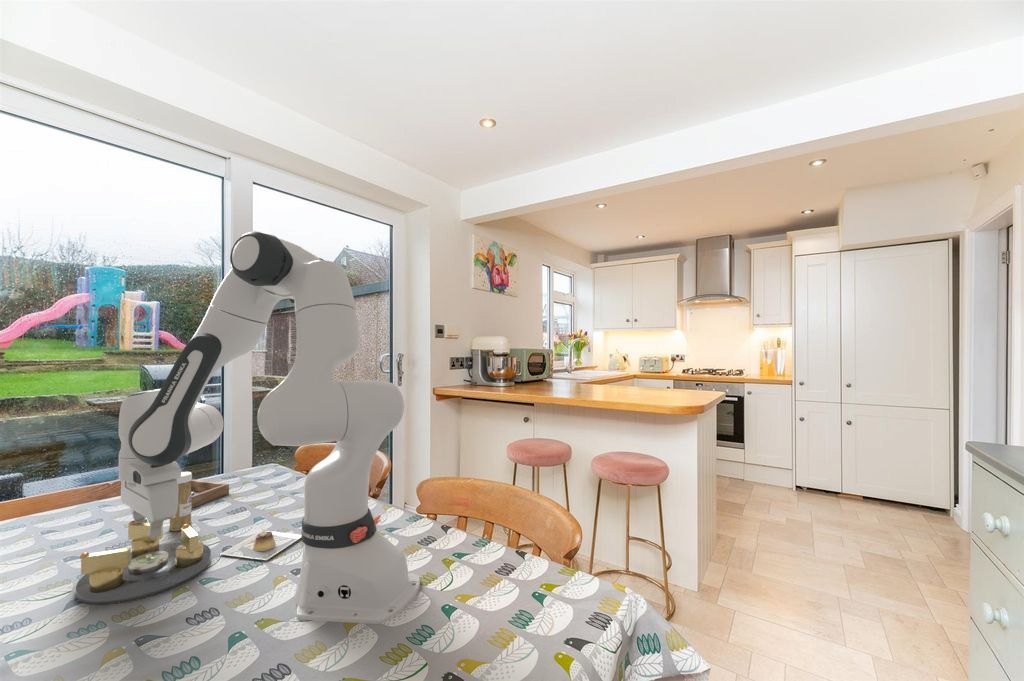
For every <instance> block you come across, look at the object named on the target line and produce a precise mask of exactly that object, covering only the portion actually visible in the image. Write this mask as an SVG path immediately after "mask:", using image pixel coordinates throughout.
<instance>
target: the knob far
mask: <svg viewBox="0 0 1024 681" xmlns="http://www.w3.org/2000/svg"><path fill="white" fill-rule="evenodd" d="M163 524H164V523H163ZM163 524H162V527H161V535H160V536H159V537H157V538H153V539H151V538H149V537H148V529H149V525H150V523H149V522H147V523H138V522H136V521H134V520H131V521H130V522H129V523H128V527H127V530H128V531H127V534H128V535H127V536H128V537H127V538H128V539H127V540H129V541H130V540H131V552H132V558H136V557H138V556H140V555H143V554H146V553H150V552H155V551H159V545H160V540H162V539H163V538H164V535H163V534H164V531H163V530H164V526H163Z"/></svg>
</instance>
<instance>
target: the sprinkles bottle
mask: <svg viewBox="0 0 1024 681" xmlns="http://www.w3.org/2000/svg"><path fill="white" fill-rule="evenodd" d="M191 480H193V474H192V472H191V471H181V477H180V478H177V481H178V504H177V511H176V514H175V516H174V517H173V518H171V519H169V528H168V531H171V532H179V531H180V532H181V528H182V526H183V525H185V524H188V525H189V526H190V527H191V526H192V525H193V523H192V508H191V492H192V491H191Z"/></svg>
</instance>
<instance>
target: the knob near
mask: <svg viewBox="0 0 1024 681" xmlns="http://www.w3.org/2000/svg"><path fill="white" fill-rule="evenodd" d="M180 532H181V534H180V535H181V536H180V538H181V539H180V542H181V543H182V545H180V546H178V547H177V548H176V566H178V567H186V566H190V565H193V564H196V563H198V562H200V561H201V560H202V559H203V544H204V542H203V541H200V540H199V534H198V533H197V532H196V531H195V530H194V529H193V528H192V527H191V526H189V525H188V524H185V525H183V526H182V528H181V530H180Z"/></svg>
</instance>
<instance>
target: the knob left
mask: <svg viewBox="0 0 1024 681" xmlns="http://www.w3.org/2000/svg"><path fill="white" fill-rule="evenodd" d="M131 552H132V546H131V547H124V548H118V549H117V548H116V549H110V550H106V551H104V550H103V551H99V552H91V553H89V552H83V553H81V554H80V556H79V559H80V575H81V576H84V575H85V574H89V591H90V592H92V593H98V592H104V591H107V590H110V589H113V588H115V587H117V586H119V585H120V584H121V583H122V582H123V568H125V567H128V566H129V565H130V564H131Z"/></svg>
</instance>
